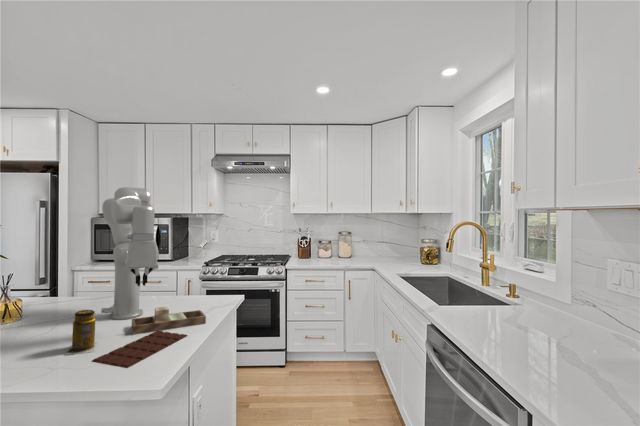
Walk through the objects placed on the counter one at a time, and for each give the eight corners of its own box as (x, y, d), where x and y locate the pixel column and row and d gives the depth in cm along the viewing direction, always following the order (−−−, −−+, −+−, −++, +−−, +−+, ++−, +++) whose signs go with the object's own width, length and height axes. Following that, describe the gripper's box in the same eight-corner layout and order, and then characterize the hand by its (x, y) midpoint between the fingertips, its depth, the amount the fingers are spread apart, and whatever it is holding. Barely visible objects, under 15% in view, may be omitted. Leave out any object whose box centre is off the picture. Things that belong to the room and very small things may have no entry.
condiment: (97, 342, 113) (98, 307, 113) (93, 352, 105) (94, 314, 105) (71, 345, 109) (73, 309, 110) (65, 355, 102) (66, 317, 102)
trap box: (133, 334, 120) (133, 326, 120) (131, 326, 129) (131, 318, 129) (205, 323, 135) (205, 316, 135) (199, 316, 143) (200, 310, 143)
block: (155, 321, 127) (156, 310, 127) (154, 317, 131) (154, 307, 131) (168, 319, 129) (168, 309, 129) (166, 316, 133) (167, 306, 133)
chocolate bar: (157, 332, 124) (157, 330, 124) (187, 337, 121) (187, 334, 121) (91, 362, 98) (91, 359, 98) (127, 369, 95) (127, 366, 95)
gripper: (119, 238, 119) (118, 289, 119) (166, 238, 127) (164, 285, 127) (119, 237, 125) (117, 285, 125) (163, 236, 134) (161, 281, 133)
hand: (141, 285), depth 126 cm, fingers closed
